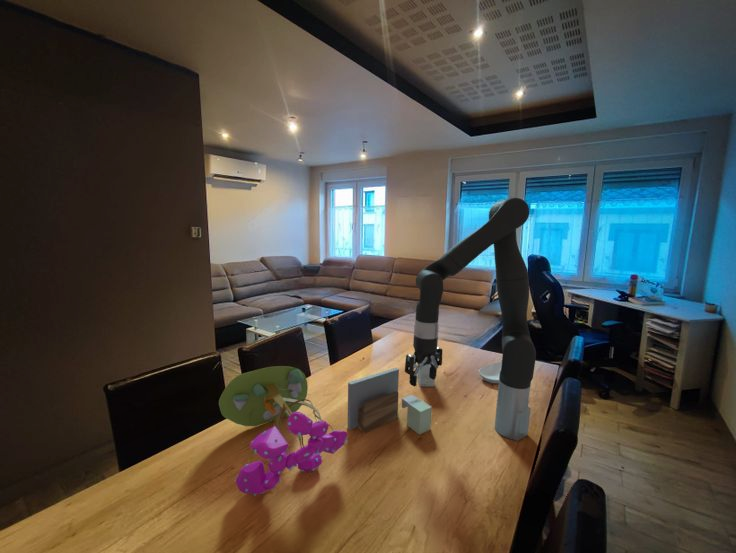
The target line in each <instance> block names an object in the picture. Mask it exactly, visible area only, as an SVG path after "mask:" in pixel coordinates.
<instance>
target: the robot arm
mask: <svg viewBox="0 0 736 553" xmlns="http://www.w3.org/2000/svg"><path fill="white" fill-rule="evenodd" d="M529 217H530V207H529V205H528V203H527V202H526V201H525V200H524V199H522V198H519V197H507V198H504V199H502V200H498V201H496V202H495V203H494V204H493V205H492V206H491V207H490V209H489V213H488V221H486V222H485V223H484V224H483V225H482V226H481V227H479V228H478V229H477V230H475V231H474V232H472V233H471V234H469V235H468V236H466V237H465V238H463V239H461V240H460V241H459V242H457V243H456V244H455V245H453V246H452V247H451V248H450V249H449V250H448V251H446V252H445V253H444V254H443V255H442V256H441V257H439V258H437V260H434V261H433V262H432V263H430V264H428V265H427V266H426V267H424V268H423V269H422V270H421V271H419V273H418V274H417V275H416V278H415V284H416V287H417V289H418V290H419V301H418V302H417V303H416V308H415V319H414V320H415V321H414V327H413V342H412V343H413V344H412V347H413V348H414V353H413V354H409V353H407V354H406V356H405V363H404V364H405V365H404V372H405V373H406V374H407V375H409V381H408V382H409V384H410V385H411V386H412V387H417V384H418V383H417V382H418V379H417V373H418V371H419V370H421V369H422V367H423V366H425V365H429V364H430V366H431V367H430V372H429V377H430V378H431V379H433V380H434V379H435V380H436V378H437V370H438V368H439V367H440V366H441V367H442V365H443V348H441V347H438V343H439V341H438V340H439V329H440V328H439V314H440V305H441V301H442V298H443V293H444V280H445V279H447V278H448V277H453V276H456V275H457V274H459V273H460V272H461V271H462V270H463V269H465V268H466V267H467V266H468V265H469V264H470V263H472V261H473V260H476V258H478V256H480V255H481V254H482V253H483V252H485V251H486V250H488V249H489V247H491V246H492V245H493V250H494V251H493V254H494V266H495V279H496V280H495V281H496V282H495V283H496V292H497V296H498V298H497V299H498V303H499V308H500V311H501V312H500V313H501V318H502V335H501V348H502V357H501V360H502V366H501V371H500V376H499V383H498V388H497V396H496V397H497V399H496V408H495V409H496V410H495V420H494V429H495V431H496V432H497V434H499V435H500V436H502V437H505V438H507V439H510V440H514V441H516V442H519V441H521V440H522V439H523V438H525V437H526V436H528V435H529V427H530V419H531V410H532V409H531V407H530V406H529V402H530V401H529V400H530V394H531V392H530V391H531V386H532V384H531V383H532V381H533V379H534V373H535V367H536V366H535V365H536V358H537V350H536V347H535V345H534V342H533V341H532V338H531V336H530V335H531V334H530V330H529V325H528V308H529V302H530V283H529V282H530V279H529V272H528V268H527V265H526V261H525V260H524V258H523V256H522V253H521V251H520V249H519V245H518V241H517V229H518V228H520V227H522V226H524V225H525V224H526V222H527V220H528V219H529ZM418 364H419V365H418Z"/></svg>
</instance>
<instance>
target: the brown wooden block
mask: <svg viewBox="0 0 736 553" xmlns="http://www.w3.org/2000/svg"><path fill="white" fill-rule="evenodd" d="M398 413H399V391H398V392H397V391H395V392H392V393H390V394H387V395H384V396H381V397H379V398H376V399H373V400H370V401H368V402H365V403H363V407H362V408H360V409H358V427H357V428H358V429H359V430H360V431H361V432H362V433H363V434H365V433H367V432H371V431H373V430H375V429H377V428H379V427H381V426H384V425H386V424H387V425H388V423H390V422H393V421H396V420H398V418H399V417H398Z"/></svg>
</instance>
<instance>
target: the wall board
mask: <svg viewBox="0 0 736 553" xmlns="http://www.w3.org/2000/svg"><path fill="white" fill-rule="evenodd" d="M399 372H400V369H399V368H398V367H394V368H391V369H387V370H385V371H381V372H377V373H375V374H370V375H367V376H365V377H361V378H359V379H355V380H351V381H348V382H347V429H348V430H349V431H352V430H355V429H356V428H358V409H360V408H362V407H363V403H365V402H368V401H370V400H373V399H376V398H379V397H381V396H384V395H387V394H390V393H392V392H395V391H397V392H398V393H399V380H400V379H399V377H400V376H399Z"/></svg>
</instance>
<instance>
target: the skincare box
mask: <svg viewBox="0 0 736 553" xmlns="http://www.w3.org/2000/svg"><path fill="white" fill-rule="evenodd" d="M418 365H419V364H418V363H417V366H418ZM430 367H431V366H430V364H429V365H425V366H423V367H422V369H421V370H419V371H418V373H417V382H418V385H419V387H423V388H424V387H433V388H434V387H435V383H436V382H435V380H436V379H434V380H433V379H431V378H430V377H429V372H430Z"/></svg>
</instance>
